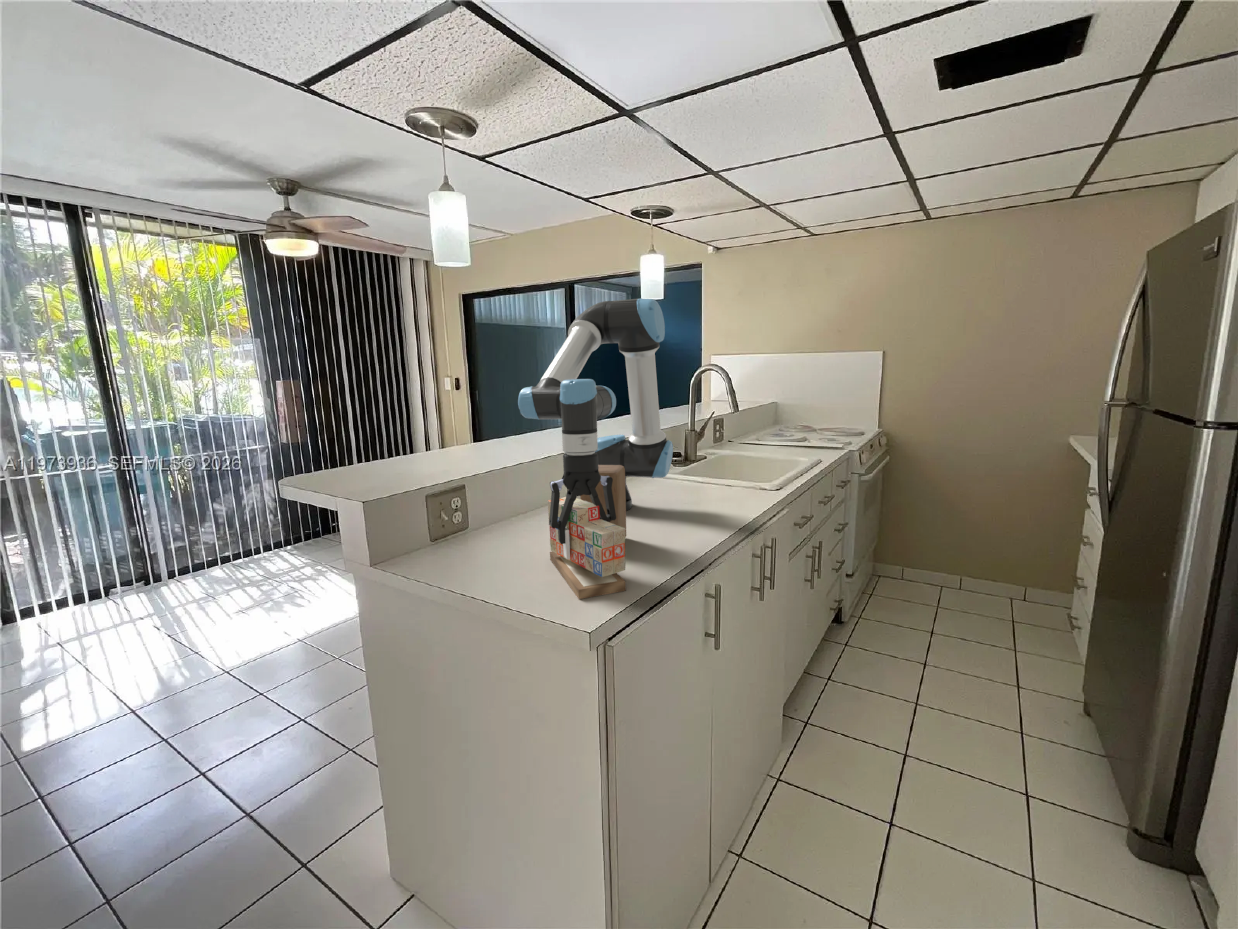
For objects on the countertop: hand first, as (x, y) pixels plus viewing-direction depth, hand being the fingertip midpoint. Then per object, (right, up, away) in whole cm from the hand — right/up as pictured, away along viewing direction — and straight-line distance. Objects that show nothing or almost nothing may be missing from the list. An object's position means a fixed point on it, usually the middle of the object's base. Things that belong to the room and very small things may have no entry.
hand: (584, 554), depth 119 cm
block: (+4, -1, +21) cm, 22 cm away
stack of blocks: (0, -1, 0) cm, 2 cm away
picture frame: (0, -5, +1) cm, 5 cm away
